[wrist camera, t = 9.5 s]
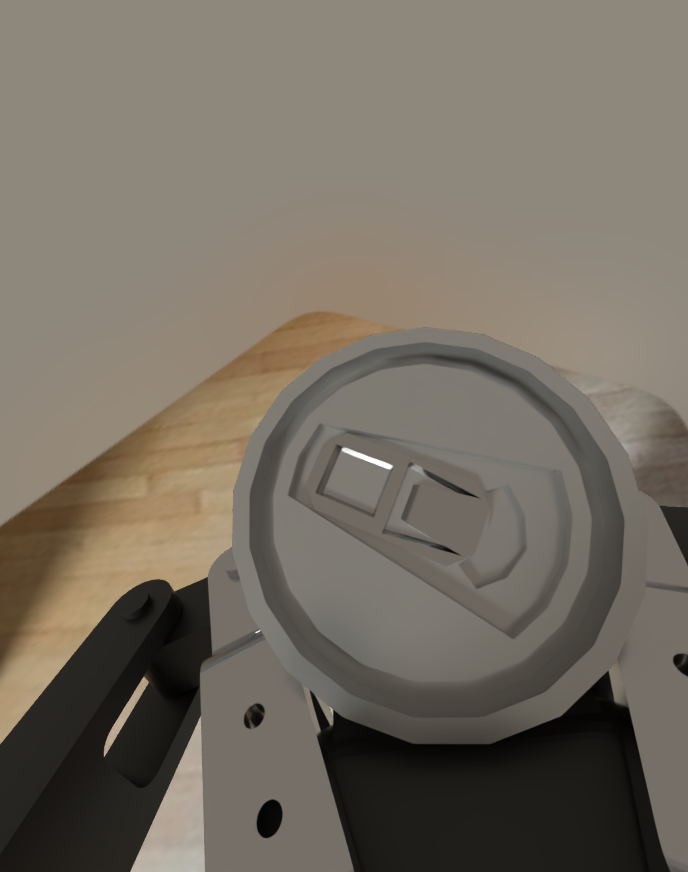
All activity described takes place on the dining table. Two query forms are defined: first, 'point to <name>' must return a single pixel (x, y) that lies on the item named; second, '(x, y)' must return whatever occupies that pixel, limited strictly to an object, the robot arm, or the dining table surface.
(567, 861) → the robot arm
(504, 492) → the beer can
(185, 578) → the dining table surface
